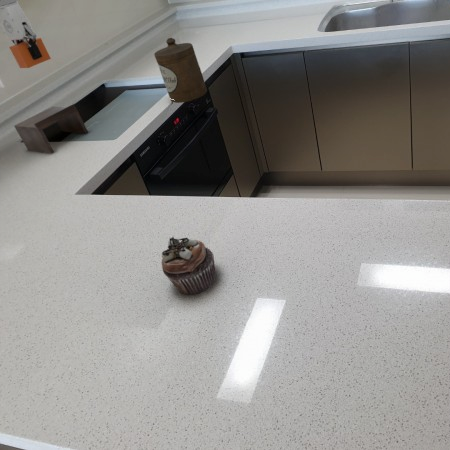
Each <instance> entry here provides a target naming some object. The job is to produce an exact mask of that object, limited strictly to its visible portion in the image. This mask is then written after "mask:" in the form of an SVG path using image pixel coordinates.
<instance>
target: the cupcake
mask: <svg viewBox="0 0 450 450" xmlns="http://www.w3.org/2000/svg"><path fill="white" fill-rule="evenodd" d="M214 256H215V255H214V252H213V251H212V250H211V249H210V248H208V246H207V247H206V246H205V244H204V243H203V242H202V241H200V240H198V239H192V238H188V237H181V238H175V236H172V237H170V238H169V239H168V241H167V249H166V250H164V251H162V252H161V258H162V259H161V267H162V272H163V274H164V275H165V276H166V277H167V279H168V280H169V281H170V283H171V284H172V285H173V286H174V287H175V288H176V290H177V291H178V292H179V293H180V294H183V295H185V296H190V295H197V294H200V293H203V292H204V291H206V290H208V289H209V288H210V287H211V286H212V285H214V283H215V281H216V278H217V273H216V272H217V271H216V266H215V265H216V264H215V257H214Z"/></svg>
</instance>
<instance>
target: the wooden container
mask: <svg viewBox="0 0 450 450" xmlns="http://www.w3.org/2000/svg"><path fill="white" fill-rule="evenodd" d="M165 43H166V44H167V46H166V47H163V48H160V49H159V50H157V51H155V52H154V54H153V55H154V58H155V60H156V63H157V66H158V68H159V71H160V74H161V77H162V80H163V84H164V86H165V88H166V91H167V94H168V97H169V99H170V98H171V99H174V100H175V101H174V100H171V99H170V101H171V103H176V104H180V103H181V104H182V103H187V102H192V101H194V100H197V99H199V98H201V97H203V96H204V95H206V93H207V92H208V87H207V85H206V83H205V79H204V76H203V73H202V70H201V67H200V64H199V61H198V58H197V55H196V52H195V48H194V46H193V44H192V43H190V42H182V43H176V39H175V38H173V37H169V38H167V39H166V41H165Z"/></svg>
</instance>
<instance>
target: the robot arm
mask: <svg viewBox="0 0 450 450" xmlns="http://www.w3.org/2000/svg"><path fill="white" fill-rule="evenodd" d="M0 28H1V30H2V32H3V34H4V36H5V38H6V40H9V41H11V42H12V43H13V44H14V45H16V44H19V43H22V42H24V41H25V43H26V44H27V46H28V47H29V48H28V50H29V52H30V54H31V56H32V58H33V59H34V60H36V59H39V58H41V57H42V54H41V52H40V50H39V48H38V46H37V43H36V38H37V34H36V33H35V32H34V29H33V27H32V24H31V22H30V21H29V19H28V17H27V16H26V13H25V12H24V10H23V9H22V7H21V6H20V4H19V1H18V0H0ZM28 40H29V41H28Z"/></svg>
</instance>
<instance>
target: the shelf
mask: <svg viewBox="0 0 450 450" xmlns="http://www.w3.org/2000/svg"><path fill="white" fill-rule="evenodd" d="M56 123H57V124H58V126H59V128H60V130H61V132H63V133H74V134H82V135H83V134H84V135H86V134H88V133H89V131H88V128H87V127H86V125H85V123H84V121H83V119H82V117H81V115H80V113H79V111H78V109H77V106H76V104H75V103H72V104H69V105H68V106H50V107H48V108H47V109H45V110H43V111H41V112H38V113H37V114H35V115H32V116H30V117H28V118H27V119H25V120H22V121H21V122H18V123H17V124H15V125H13V127H14V129H15V130H16V132H17V134H18V135H19V137H20V139H21V141H22V142H23V144H24V146H25V147H26V149H27V151H30V152H37V153H45V154H53V153H55V150H54V149H53V147H52V145H51V143H50V141H49V139H48V138H47V135H46V134H45V132H44V129H47V128H48V127H50V126H52V125H55V124H56Z"/></svg>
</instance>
